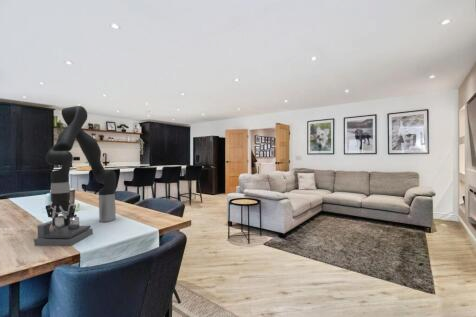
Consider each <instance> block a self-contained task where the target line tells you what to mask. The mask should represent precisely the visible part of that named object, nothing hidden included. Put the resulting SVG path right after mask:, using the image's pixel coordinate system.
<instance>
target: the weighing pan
mask: <svg viewBox="0 0 476 317" xmlns="http://www.w3.org/2000/svg"><path fill="white" fill-rule="evenodd" d="M87 229H91V225H79V228H76V229H68V226H67V227H63V228H60V229H58V230H55V231H53V232H50V233H48V234H46V235H43V238H71V237H73V236H75V235H77V234H79V233H81V232H83V231H85V230H87Z"/></svg>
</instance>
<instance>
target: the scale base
mask: <svg viewBox="0 0 476 317" xmlns="http://www.w3.org/2000/svg"><path fill="white" fill-rule="evenodd" d="M58 229H60V228H55V226H53V220H50V221H49V220H48V221H47V222H44V223H41V224H39V225H37V238H34V241H33V242H34V244H33V245H34V246H40V247H41V246H42V247H43V246H44V247H45V246H46V247H47V246H50V247H52V246H54V247H57V246H58V247H59V246H61V247H64V246H66V247H67V246H69V247H72V246H73V245H76V244H78V243H79V242H81V241H83V240H85V239H86V238H89V236H92V235H94V233H93V228H89V229H87V230H85V231H83V232H81V233H79V234H77V235H75V236H73V237H71V238H43V235H46V234H48V233H50V232H53V231H55V230H58Z"/></svg>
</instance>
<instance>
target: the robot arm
mask: <svg viewBox="0 0 476 317" xmlns="http://www.w3.org/2000/svg"><path fill="white" fill-rule="evenodd" d="M61 116H62V119H63V121H64V122H65V124H66V128H64V129H63V130H62V131H61V132H60V134H59V136H58V138H57V140H56V141H55V142H56V143H55V144H54V145H52V147H51V148H50V149H49V150H47V153H46V155H45V162H46V164H48V165H49V166H61V168H60V169H56V170H52V171H51V172H50V201H51V204H48V205H47V204H46V205H45V210H46V214H47V217H48V218H50V219H52V220H53V226H55V217H56V216H60V215H59V214H60V213H61V215H64V218H65V219H64V226H68V225H69V224H70V217H72V216H74V215H75V214H76V213H75V212H76V207H77V205H76V204H71V203H70V200H71V188H70V187H71V186H70V179H69V178H70V170H71V166H72V163H73V158H74V156H73V154H72V152H70V151H71V150H72V149H73V147H74V143H75V142H77V143H78V145H79V148H80V149H81V151H82V153H83V155H84V157H85V158H86V160H87V163H88V165H89V166H90V168H91V171H92V174H93V177H94V179H95V180H96V182H98V184H103V187H102V188H101V189H99V190H98V219H99V223H109V222H113V221H115V220H116V218H117V215H116V214H117V213H116V212H117V211H116V210H117V209H116V189H117V174H116V171H115V170H113V169H105V168H104V166H103V164H102V162H101V157H102V156H101V155H102V151H101V150H102V149H101V148H100V146H99V143H98V141H97V140H96V139H95V138H94V137H93V136H92V135H90V134H89V133H87V132H85V131H84V130H83V129H82V127H83V126H84V125H85V123H86V122H87V120H88V112H87V109H86V108H85V107H84V106H82V105H74V106H68V107H65V108H63V109H61ZM52 220H51V221H52Z"/></svg>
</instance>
